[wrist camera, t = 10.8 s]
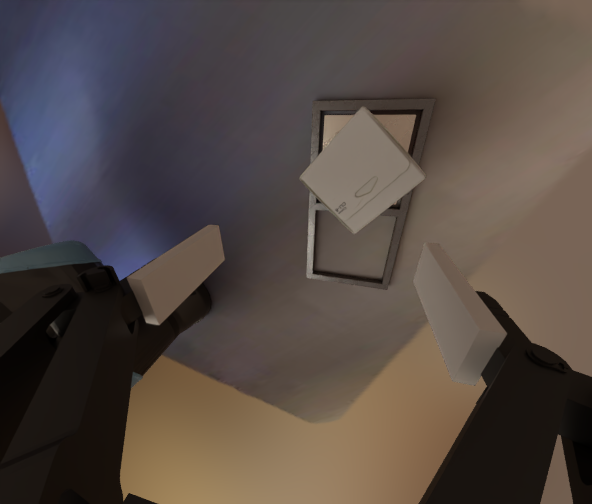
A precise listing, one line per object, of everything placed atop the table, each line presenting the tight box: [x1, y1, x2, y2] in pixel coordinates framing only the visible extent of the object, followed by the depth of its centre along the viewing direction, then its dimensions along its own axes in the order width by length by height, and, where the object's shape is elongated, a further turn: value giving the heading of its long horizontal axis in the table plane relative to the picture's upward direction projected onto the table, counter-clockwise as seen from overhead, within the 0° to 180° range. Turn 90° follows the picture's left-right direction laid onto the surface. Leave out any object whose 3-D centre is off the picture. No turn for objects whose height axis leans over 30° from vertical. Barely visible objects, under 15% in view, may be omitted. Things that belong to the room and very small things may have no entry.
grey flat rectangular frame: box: [307, 99, 436, 290], centre depth 34 cm, size 14×27×1 cm, turn 179°
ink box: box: [299, 106, 426, 234], centre depth 26 cm, size 9×9×12 cm
